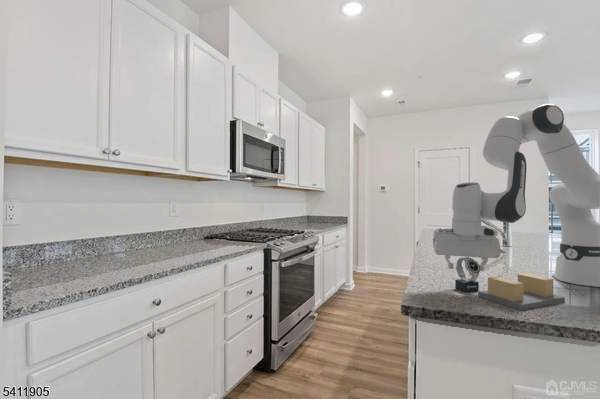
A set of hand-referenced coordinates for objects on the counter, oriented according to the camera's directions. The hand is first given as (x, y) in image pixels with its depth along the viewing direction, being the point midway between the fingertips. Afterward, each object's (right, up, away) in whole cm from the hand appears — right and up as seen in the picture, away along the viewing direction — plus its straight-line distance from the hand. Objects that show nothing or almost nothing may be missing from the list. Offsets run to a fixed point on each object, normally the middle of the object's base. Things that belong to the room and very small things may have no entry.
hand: (465, 269), depth 103 cm
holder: (+12, -7, -10) cm, 17 cm away
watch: (0, -7, 0) cm, 7 cm away
